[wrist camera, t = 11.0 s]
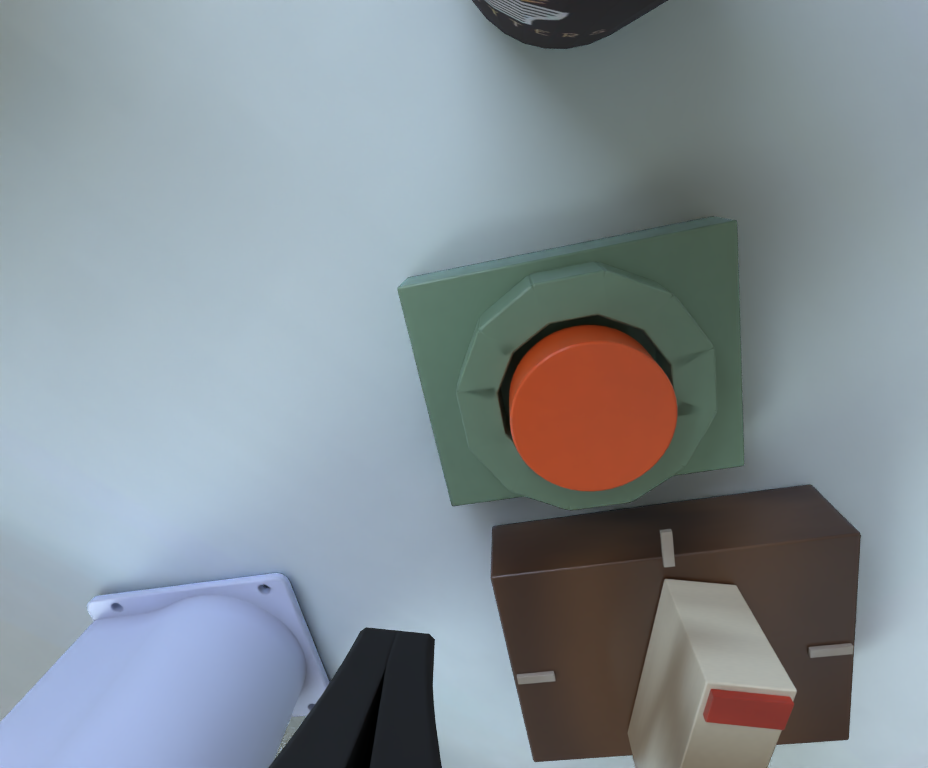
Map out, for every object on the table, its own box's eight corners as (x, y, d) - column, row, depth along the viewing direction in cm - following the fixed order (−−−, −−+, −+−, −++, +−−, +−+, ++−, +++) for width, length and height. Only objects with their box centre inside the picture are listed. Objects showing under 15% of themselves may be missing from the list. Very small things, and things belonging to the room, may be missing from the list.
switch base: (533, 713, 25) (538, 785, 22) (486, 502, 21) (483, 555, 18) (807, 690, 23) (851, 765, 20) (811, 457, 19) (866, 506, 16)
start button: (522, 471, 17) (524, 502, 15) (497, 339, 15) (495, 358, 14) (665, 450, 16) (683, 480, 15) (653, 310, 15) (672, 327, 13)
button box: (455, 480, 21) (446, 537, 17) (406, 277, 18) (385, 299, 15) (724, 441, 19) (769, 494, 16) (714, 215, 17) (766, 224, 13)
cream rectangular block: (689, 738, 21) (734, 871, 17) (627, 732, 21) (656, 862, 17) (736, 584, 18) (802, 699, 14) (663, 577, 18) (709, 690, 14)
